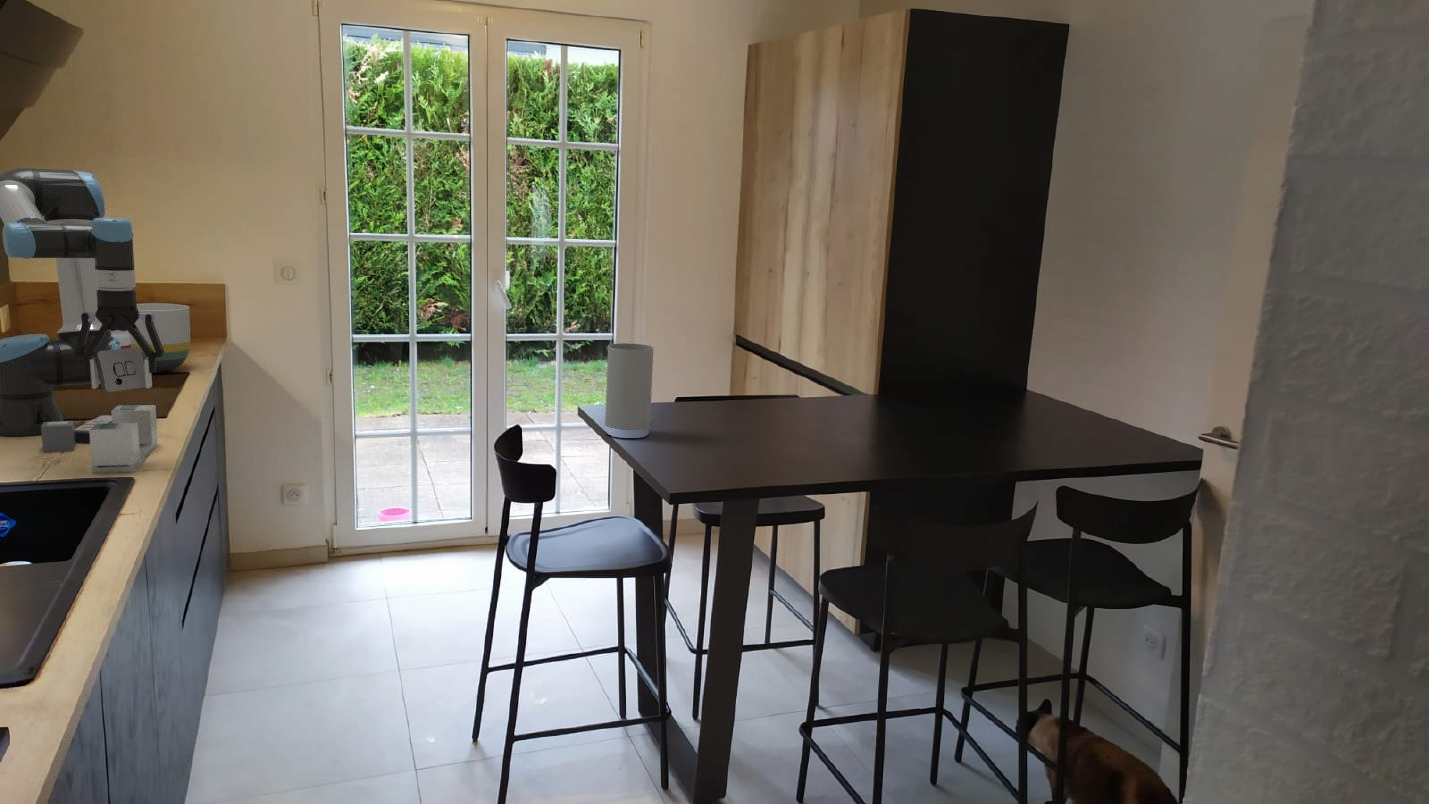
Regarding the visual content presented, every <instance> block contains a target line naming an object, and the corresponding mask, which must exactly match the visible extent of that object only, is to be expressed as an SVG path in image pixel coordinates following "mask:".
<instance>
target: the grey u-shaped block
mask: <svg viewBox="0 0 1429 804" xmlns="http://www.w3.org/2000/svg"><path fill="white" fill-rule="evenodd" d="M156 410H157V409H156V404H151V405H149V404H148V405H147V404H145V405H144V404H142V405H140V404H138V405H137V404H136V405H134V404H133V405H131V404H129V405H116V406H115V407H114V408H113V409H112V410H110V412H111V416H112V423H98V424H95V425H94V426H93V427H92V428H91V429H90V430H89V434H90V443H89V446H90V447H89V448H90V459H91V473H92V474H113V473H114V474H116V473H117V474H120V473H135V472H136V471H137V470H138V468H139V467H140V466H141V465H142V463H143V462H144V461H146V459H147V457H149V455H150V454H152V453H151V452H152V451H154V449H155V448H156V447H157V446H158V444H159V443H158V427H157V426H158V425H157V411H156ZM156 445H157V446H156Z"/></svg>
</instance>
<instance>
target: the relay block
mask: <svg viewBox="0 0 1429 804" xmlns="http://www.w3.org/2000/svg"><path fill="white" fill-rule="evenodd" d="M75 429H76V428H75V421H74V420H63V421H58V422H43V424H42V426H41V434H40V435H41V442H42V443H41V444H42V453H48V452H52V453H53V452H65V451H66V452H68V451H74V450H75V449H76V446H77V445H76V444H77V443H76V442H75Z"/></svg>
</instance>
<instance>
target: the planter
mask: <svg viewBox="0 0 1429 804" xmlns="http://www.w3.org/2000/svg"><path fill="white" fill-rule="evenodd" d="M137 310H138V312H139V313H144V314H149V313H152V314H153V315H154V322H153V323H154V326H155V328H156V331H157V334H158V336H159V339H160V341H161V344H162V347H163V349H164V352H165V353H164V355H162V356H161V357H157V358H156V372H155V373H164V372H170V371H173V370H176V369H177V368H179V367H180V366H181V365H183V363H184V362H185V361H187V359H188V355H189V352H190V348H191V321H190V320H191V318H190V317H191V316H190V306H189V305H185V304H175V303H137ZM135 325H136V326H137V328H138V329H139V332H140V333H141V334H142V336H143V337H144V339H145V340H146V341H147V343H148V344H149V346H150V347H151V348H152V350H153V351H154V352H155V349H154V347H153V344H152V341H151V339H150V336H149V334H148V331H147V328H146V325H145V323H143V322H142V320H141V319H140V318H139V319H138V320H137V321H136V322H135ZM129 334H130V333H129ZM130 337H131V348H135V347H138V348H140V346H139V345H138V343H137V342H136V340H135V339H134V338H133V336H132V335H131V334H130ZM140 349H141V348H140ZM141 353H142V357H143V362H144V360H145V359H146V358H148V357H147V356H146V355H145V353H144V352H143V350H142V349H141ZM144 366H145V365H144Z"/></svg>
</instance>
